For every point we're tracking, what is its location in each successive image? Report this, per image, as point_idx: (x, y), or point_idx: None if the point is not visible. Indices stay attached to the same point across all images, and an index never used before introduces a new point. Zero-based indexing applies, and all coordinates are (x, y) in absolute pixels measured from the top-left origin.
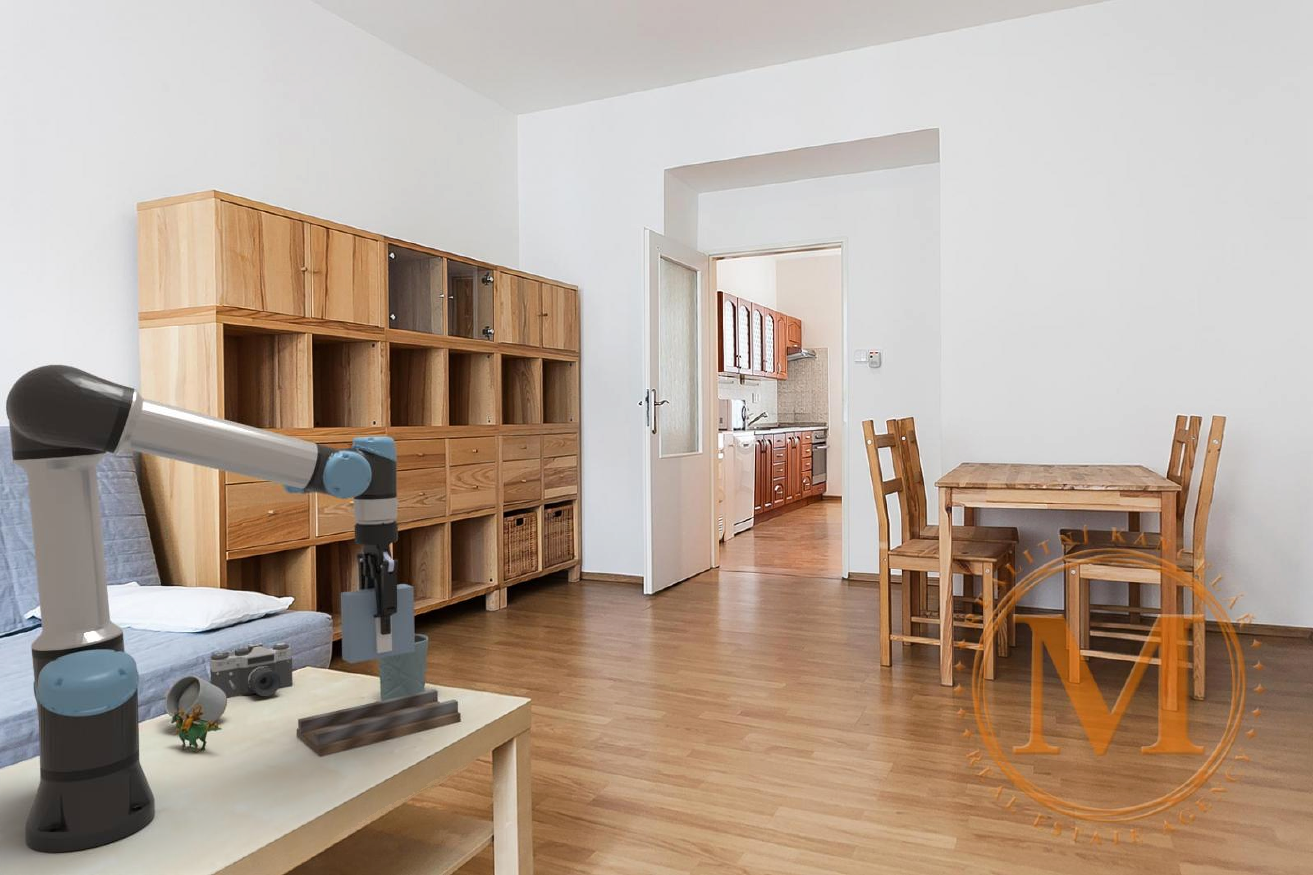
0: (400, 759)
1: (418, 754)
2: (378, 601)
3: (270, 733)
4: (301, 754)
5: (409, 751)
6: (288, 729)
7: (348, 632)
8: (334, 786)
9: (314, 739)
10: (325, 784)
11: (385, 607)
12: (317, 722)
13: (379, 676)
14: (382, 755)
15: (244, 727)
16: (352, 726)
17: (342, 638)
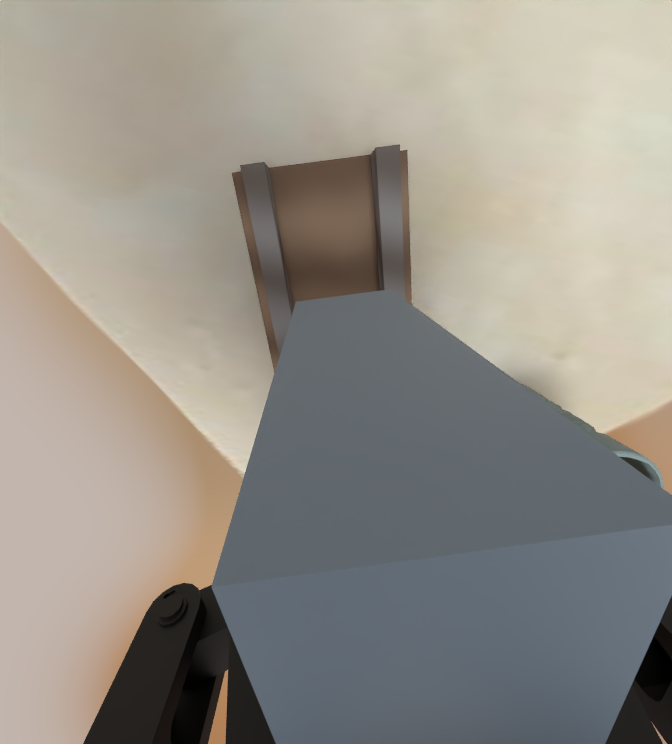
0: (145, 326)
1: (159, 361)
2: (237, 689)
3: (476, 94)
4: (276, 138)
5: (183, 352)
6: (473, 148)
7: (307, 336)
8: (32, 162)
9: (299, 175)
10: (51, 145)
11: (127, 666)
12: (376, 200)
13: (547, 403)
14: (183, 302)
15: (577, 30)
16: (261, 265)
17: (405, 309)
